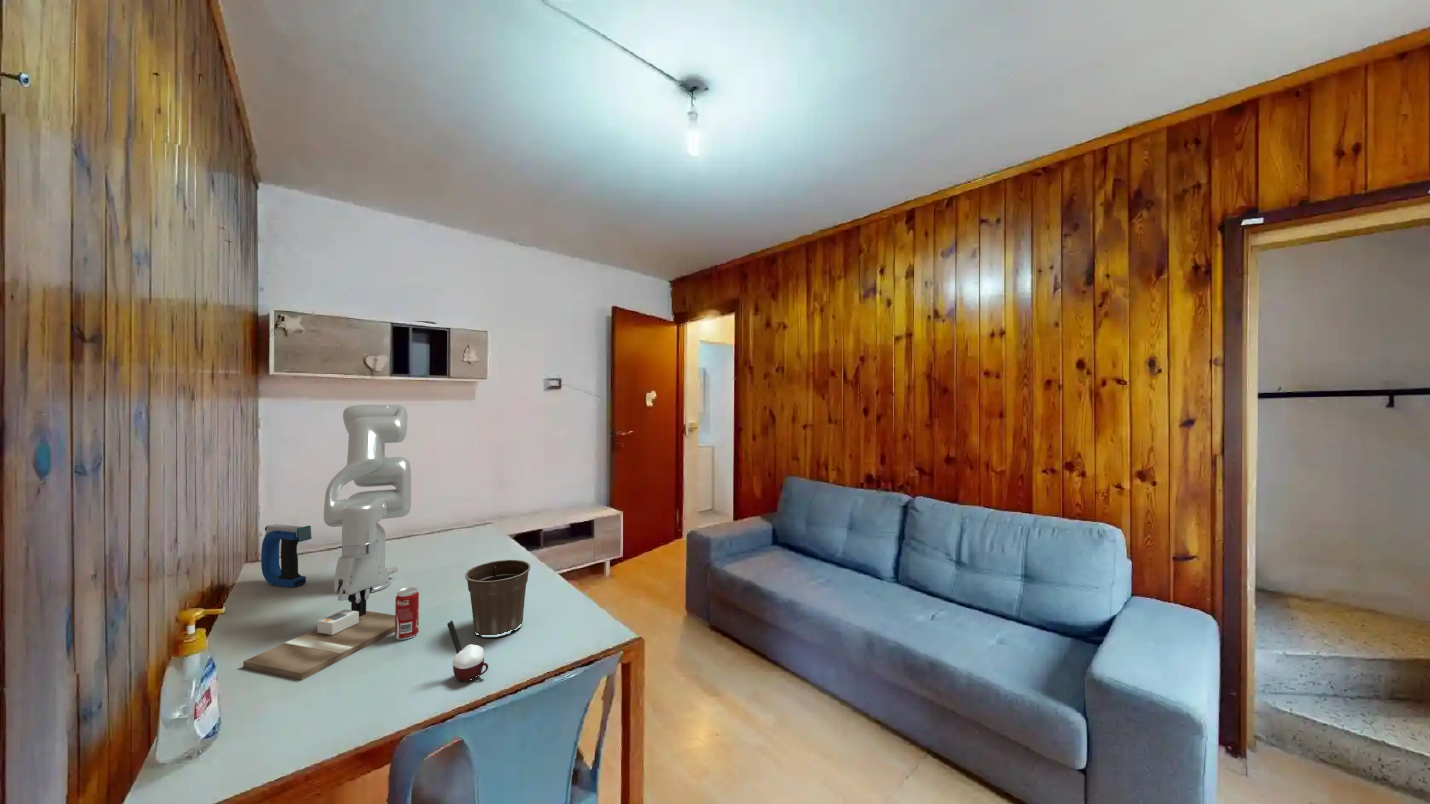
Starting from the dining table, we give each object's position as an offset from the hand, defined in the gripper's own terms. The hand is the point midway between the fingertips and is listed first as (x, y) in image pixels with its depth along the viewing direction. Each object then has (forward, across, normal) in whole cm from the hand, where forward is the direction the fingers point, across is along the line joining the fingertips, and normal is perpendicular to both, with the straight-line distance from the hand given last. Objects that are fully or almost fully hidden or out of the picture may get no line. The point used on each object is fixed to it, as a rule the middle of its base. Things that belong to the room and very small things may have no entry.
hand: (358, 615), depth 131 cm
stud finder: (+1, +5, 0) cm, 5 cm away
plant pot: (+3, -8, +38) cm, 39 cm away
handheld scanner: (+3, -16, -50) cm, 53 cm away
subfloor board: (+3, +9, +4) cm, 10 cm away
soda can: (+3, +2, +18) cm, 18 cm away
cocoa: (+3, +13, +47) cm, 49 cm away
